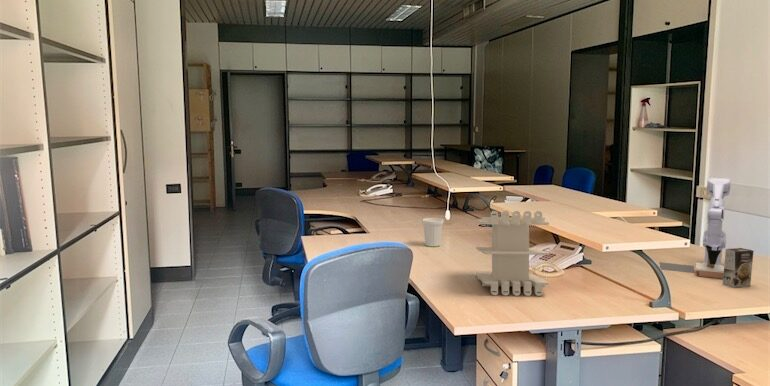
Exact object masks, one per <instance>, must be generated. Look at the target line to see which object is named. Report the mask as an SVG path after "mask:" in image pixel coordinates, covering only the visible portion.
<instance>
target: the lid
mask: <svg viewBox="0 0 770 386" xmlns="http://www.w3.org/2000/svg"><path fill="white" fill-rule="evenodd" d="M695 270H696V271H698V270H701V271H710V272H719V273H724V265H723V264H721V265H716V264H715V265H713V264H710V262H709V258H708V260H707V264H706V263H703V262H695Z"/></svg>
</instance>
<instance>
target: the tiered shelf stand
mask: <svg viewBox="0 0 770 386" xmlns="http://www.w3.org/2000/svg"><path fill="white" fill-rule="evenodd" d="M500 214H501V216H499V212H498V211H497V210H492V211H491V212H490V216H486V217H485V216H482V217H481V218H477V220H476V224H480V225H491V247H490V246H488V247H487V246H476V247H475V248H476V249H475V250H477V251H478V252H481V253H482V254H484V255H491V273H475V277H476V278H477V280H479V281H481V287H490V293H491V295H493V296H497V295H498V294H499V287H500V290H501V291H500V292H501V295H503V296H509V294H510V287H512V289H511V291H512V295H514V296H516V297H517V296H520V295H521V287H522V290H523V292H522V293H523V294H524V295H525V296H526V297H530V296H531V295H532V288H533V289H534V291H533V293H534V295H536V296H537V297H541V296H542V295H543V288H545V287H546V286H549V285H550V282H549V281H548V280H545V279H543V278H542V277H540V276H538V275H535V274H532V273H530V255H532V256H533V255H534V256H535V255H536V256H538V255H539V256H543V255H544V256H547V255H548V256H549V255H550V252H548V251H545V250H542V249H538V248H534V247H530V226H531V225H534V226H535V225H536V226H542V225H543V226H549V225H550V222H546V221H545V219H546V218H545V217H543V213H542V212H541V211H540V210H539V211H538V210H537V211H535V212H534V215H533V217H532V212H531V211H530V210H526V211H525V210H524V212H523V214H522V217H521V212H520V211H519V210H514V211H513V212H512V213H511V215H512V216H510V212H509V211H508V210H502V211H501V213H500Z"/></svg>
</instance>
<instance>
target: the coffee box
mask: <svg viewBox="0 0 770 386" xmlns="http://www.w3.org/2000/svg"><path fill="white" fill-rule="evenodd" d="M754 251H755V250H752V249H748V248H743V247H737V248H736V247H735V248H733V247H732V248H725V252H724V253H725V255H724V274H723V279H722V285H725V286H728V287H730V286H731V287H730V288H733V287H734V288H736V289H737V288H748V287H751V281H752V272H753V260H754V253H755V252H754ZM747 286H748V287H747ZM734 288H733V289H734Z"/></svg>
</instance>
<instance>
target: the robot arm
mask: <svg viewBox="0 0 770 386" xmlns="http://www.w3.org/2000/svg"><path fill="white" fill-rule="evenodd" d="M731 182H732V179H731V178H722V177H710V176H709V177H708V178H707V184H706V190H707V191H706V192H707V194H708V195H709V196H711V199H710V200H709V206H708V207H709V208H707V212H706V213H707V214H706V215H707V217H706V219H707V229H706V230H704V232H703V237H702V246H703V247H704V248H705V250H704V261H702V263H706V264H707V260H708V258H709V262H710V264H713V265H715V264H716V265H722V257H723V249H726V244H727V233H726V232H725V231H724V230H723V221H724V220H725V207H724V206H725V200H724V199H725V197H727V196H729V194H730V192H731V185H732V184H731Z"/></svg>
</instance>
